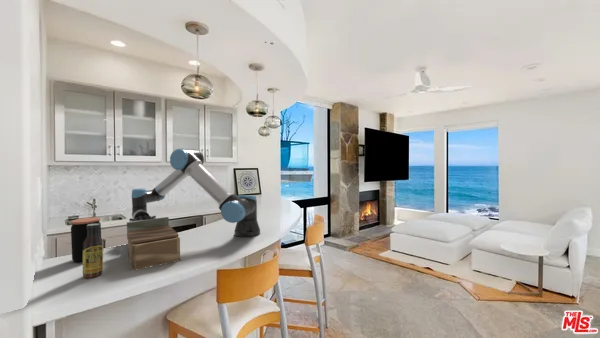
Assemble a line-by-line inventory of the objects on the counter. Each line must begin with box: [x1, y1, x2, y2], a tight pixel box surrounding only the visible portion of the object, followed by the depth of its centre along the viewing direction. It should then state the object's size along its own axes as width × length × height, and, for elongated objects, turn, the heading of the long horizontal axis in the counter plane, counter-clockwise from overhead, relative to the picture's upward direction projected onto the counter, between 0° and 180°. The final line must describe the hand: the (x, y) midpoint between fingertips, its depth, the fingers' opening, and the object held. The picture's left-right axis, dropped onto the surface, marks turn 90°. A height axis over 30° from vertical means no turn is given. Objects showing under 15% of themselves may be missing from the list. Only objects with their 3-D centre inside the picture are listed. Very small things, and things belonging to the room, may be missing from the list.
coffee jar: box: [70, 217, 102, 264], centre depth 123 cm, size 11×11×18 cm
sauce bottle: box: [82, 224, 104, 279], centre depth 104 cm, size 6×6×20 cm
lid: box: [126, 216, 179, 244], centre depth 126 cm, size 25×18×8 cm
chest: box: [127, 236, 181, 271], centre depth 123 cm, size 22×18×10 cm
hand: (146, 224), depth 135 cm, fingers closed
